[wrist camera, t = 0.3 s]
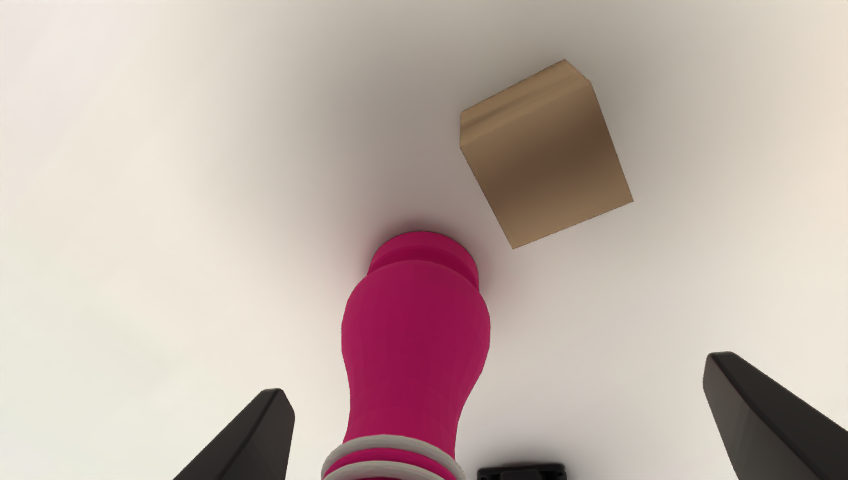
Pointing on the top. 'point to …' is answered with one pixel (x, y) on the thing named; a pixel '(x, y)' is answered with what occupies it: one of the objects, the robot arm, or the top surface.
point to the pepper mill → (410, 360)
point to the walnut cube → (543, 155)
